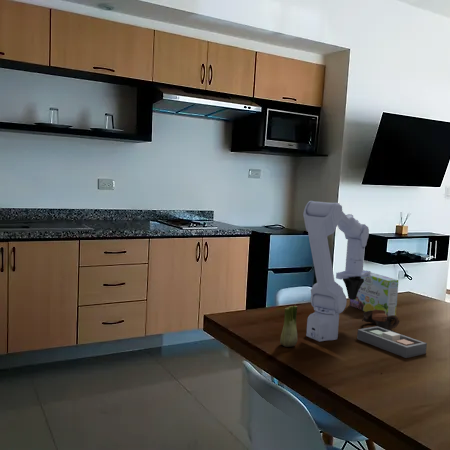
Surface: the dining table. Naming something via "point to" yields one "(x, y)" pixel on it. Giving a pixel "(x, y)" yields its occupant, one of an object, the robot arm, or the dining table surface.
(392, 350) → the grey rectangular tray
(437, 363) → the dining table surface
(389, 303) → the snack box
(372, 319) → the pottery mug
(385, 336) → the key mid
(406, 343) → the key
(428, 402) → the dining table surface
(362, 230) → the robot arm
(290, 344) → the fennel bulb
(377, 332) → the key
